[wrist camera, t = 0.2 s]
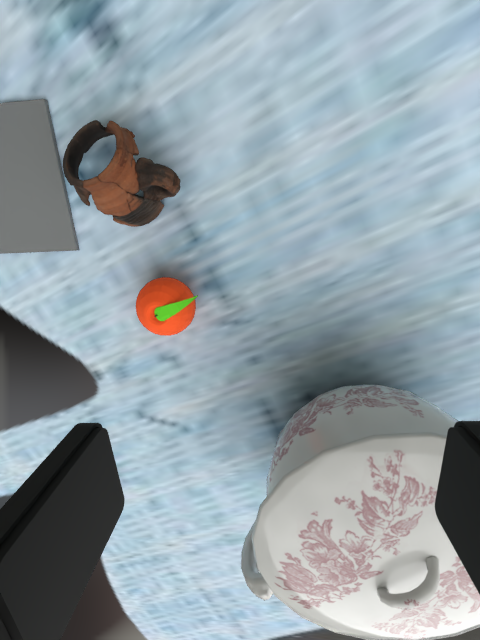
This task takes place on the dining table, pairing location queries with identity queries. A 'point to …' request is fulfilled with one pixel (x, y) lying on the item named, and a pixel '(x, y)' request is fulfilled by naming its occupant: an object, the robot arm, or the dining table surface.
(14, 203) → the mat
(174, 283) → the clementine
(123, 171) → the pottery mug
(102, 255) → the dining table surface
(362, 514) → the chamber pot
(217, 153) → the dining table surface
